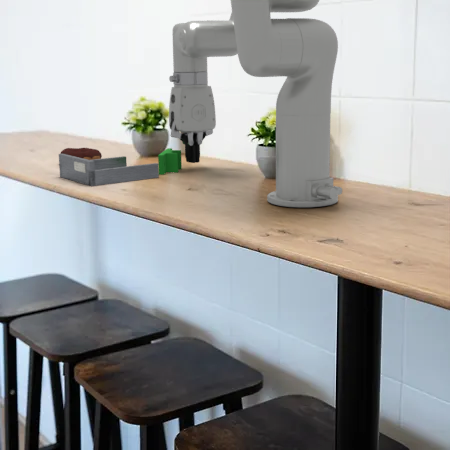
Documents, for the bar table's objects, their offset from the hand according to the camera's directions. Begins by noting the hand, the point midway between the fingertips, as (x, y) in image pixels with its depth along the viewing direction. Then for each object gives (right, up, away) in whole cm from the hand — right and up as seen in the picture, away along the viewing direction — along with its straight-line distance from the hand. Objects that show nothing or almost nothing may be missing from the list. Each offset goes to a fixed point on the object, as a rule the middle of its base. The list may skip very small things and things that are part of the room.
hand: (192, 161), depth 176 cm
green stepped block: (-5, -2, -1) cm, 6 cm away
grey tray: (-18, -4, -9) cm, 20 cm away
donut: (-27, 0, +11) cm, 30 cm away
